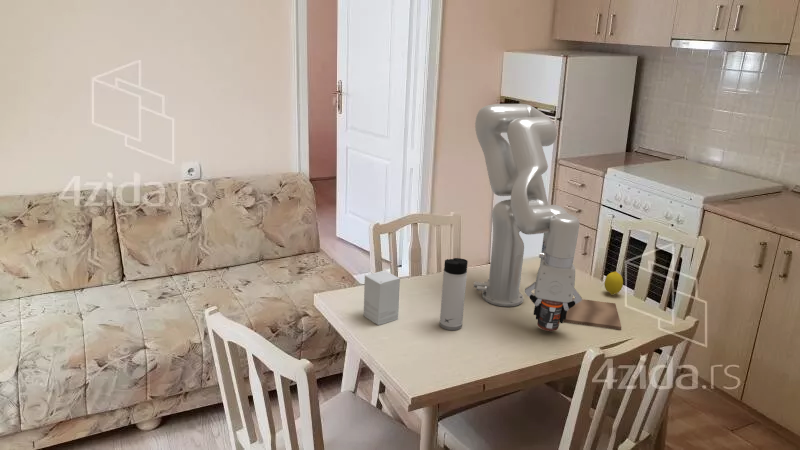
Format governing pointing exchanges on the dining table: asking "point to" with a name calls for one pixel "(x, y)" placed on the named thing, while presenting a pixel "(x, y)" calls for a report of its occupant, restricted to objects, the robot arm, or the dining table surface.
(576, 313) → the walnut board
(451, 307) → the travel mug
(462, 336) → the dining table surface
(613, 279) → the lemon
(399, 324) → the dining table surface
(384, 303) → the supplement box
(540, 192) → the robot arm
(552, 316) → the supplement bottle
